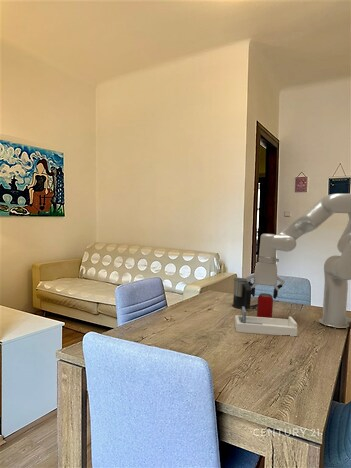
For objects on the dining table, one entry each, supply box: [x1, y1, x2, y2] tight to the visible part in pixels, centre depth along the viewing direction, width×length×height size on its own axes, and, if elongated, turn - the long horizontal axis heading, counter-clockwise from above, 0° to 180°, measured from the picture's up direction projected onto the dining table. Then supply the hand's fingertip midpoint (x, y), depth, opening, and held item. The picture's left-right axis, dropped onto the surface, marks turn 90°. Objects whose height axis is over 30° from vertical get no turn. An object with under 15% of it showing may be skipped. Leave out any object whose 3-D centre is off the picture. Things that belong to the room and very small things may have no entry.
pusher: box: [241, 306, 263, 325], centre depth 137 cm, size 8×9×7 cm
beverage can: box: [256, 293, 274, 318], centre depth 150 cm, size 7×7×12 cm
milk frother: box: [232, 277, 258, 310], centre depth 171 cm, size 14×16×15 cm
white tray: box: [234, 314, 298, 337], centre depth 137 cm, size 24×12×5 cm, turn 83°
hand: (263, 297), depth 150 cm, fingers open, 9 cm apart
